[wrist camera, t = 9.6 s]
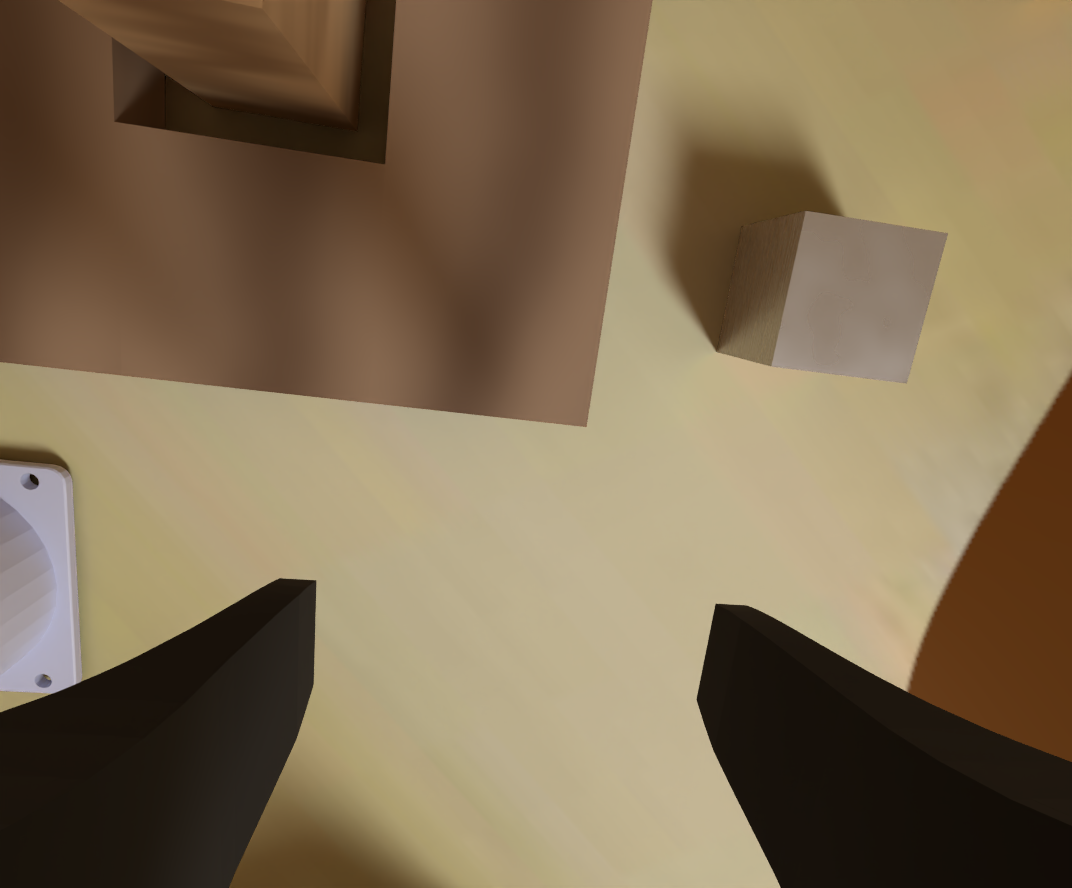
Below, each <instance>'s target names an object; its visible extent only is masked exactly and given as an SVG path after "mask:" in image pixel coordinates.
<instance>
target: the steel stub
mask: <svg viewBox="0 0 1072 888" xmlns="http://www.w3.org/2000/svg"><path fill="white" fill-rule="evenodd" d="M947 235H948V233H942V232H936V231H930V230H923V229H917V228H911V227H905V226H898V225H892V224H886V223H880V222H873V221H867V220H861V219H854V218H848V217H842V216H836V215H829V214H823V213H817V212H810V211H803V212H799V213H794V214H790V215H786V216H782V217H778V218H774V219H770V220H766V221H761V222H757V223H753V224H749V225H745V226H742V228H741V233H740V238H739V243H738V248H737V253H736V258H735V263H734V268H733V273H732V278H731V283H730V288H729V293H728V298H727V303H726V308H725V313H724V318H723V323H722V328H721V333H720V338H719V343H718V348H717V352H718V353H722V354H726V355H730V356H734V357H737V358H741V359H745V360H749V361H753V362H756V363H760V364H764V365H768V366H772V367H780V368H788V369H796V370H804V371H812V372H820V373H827V374H835V375H843V376H851V377H859V378H867V379H875V380H883V381H891V382H899V383H907V381H908V377H909V373H910V370H911V366H912V362H913V359H914V355H915V351H916V348H917V344H918V341H919V337H920V333H921V330H922V326H923V322H924V319H925V315H926V311H927V308H928V304H929V300H930V297H931V293H932V290H933V286H934V282H935V279H936V275H937V271H938V268H939V264H940V260H941V257H942V253H943V250H944V246H945V242H946V239H947Z"/></svg>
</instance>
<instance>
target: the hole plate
mask: <svg viewBox="0 0 1072 888" xmlns="http://www.w3.org/2000/svg"><path fill="white" fill-rule="evenodd" d="M651 6H652V0H396V12H395V26H394V41H393V56H392V70H391V85H390V100H389V115H388V129H387V144H386V159H385V164H379V163H373V162H366V161H360V160H354V159H347V158H341V157H335V156H328V155H322V154H316V153H309V152H303V151H297V150H290V149H284V148H278V147H271V146H265V145H259V144H252V143H246V142H239V141H233V140H227V139H220V138H214V137H208V136H201V135H195V134H189V133H182V132H176V131H170V130H165V73H163V72H162V71H161V70H159V69H158V68H156V67H155V66H153V65H152V64H150V63H149V62H147V61H146V60H145V59H143V58H142V57H140V56H139V55H137V54H136V53H134V52H133V51H131V50H130V49H129V48H127V47H126V46H124V45H123V44H121V43H120V42H118V41H117V40H115V39H114V38H113V37H111V36H110V35H108V34H107V33H105V32H104V31H102V30H101V29H99V28H98V27H96V26H95V25H94V24H92V23H91V22H89V21H88V20H86V19H85V18H83V17H82V16H80V15H79V14H78V13H76V12H75V11H73V10H72V9H70V8H69V7H67V6H66V5H64V4H63V3H62V2H60V1H59V0H0V362H6V363H15V364H24V365H33V366H42V367H51V368H60V369H69V370H78V371H87V372H96V373H105V374H114V375H123V376H132V377H141V378H150V379H159V380H168V381H177V382H186V383H195V384H204V385H213V386H222V387H231V388H240V389H249V390H258V391H267V392H276V393H285V394H294V395H303V396H312V397H321V398H330V399H339V400H348V401H357V402H366V403H375V404H384V405H393V406H403V407H412V408H421V409H430V410H439V411H448V412H457V413H466V414H475V415H484V416H493V417H502V418H511V419H520V420H529V421H538V422H547V423H556V424H565V425H574V426H583V427H586V426H587V420H588V413H589V407H590V400H591V394H592V388H593V381H594V375H595V368H596V362H597V355H598V349H599V342H600V336H601V329H602V323H603V316H604V310H605V304H606V297H607V291H608V284H609V278H610V271H611V265H612V258H613V252H614V245H615V239H616V232H617V226H618V220H619V213H620V207H621V200H622V194H623V187H624V181H625V174H626V168H627V161H628V155H629V148H630V142H631V136H632V129H633V123H634V116H635V110H636V103H637V97H638V90H639V84H640V77H641V71H642V65H643V58H644V52H645V45H646V39H647V32H648V26H649V19H650V13H651Z"/></svg>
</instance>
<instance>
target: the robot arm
mask: <svg viewBox="0 0 1072 888" xmlns="http://www.w3.org/2000/svg"><path fill="white" fill-rule="evenodd" d="M30 474H33V475H35V476H36V477H37V478H38V480H39V485H35V484H34V483H33V482H31V480H30ZM315 610H316V580H298V579H281V578H280V579H278V580H275V581H273V582H271V583H269V584H267V585H266V586H264V587H262V588H260V589H258V590H257V591H255V592H253V593H252V594H250V595H248V596H246V597H245V598H243V599H241V600H240V601H238V602H236V603H235V604H233V605H231V606H229V607H228V608H226V609H224V610H222V611H221V612H219V613H217V614H215V615H214V616H212V617H210V618H209V619H207V620H205V621H203V622H202V623H200V624H198V625H196V626H195V627H193V628H191V629H189V630H187V631H185V632H183V633H181V634H179V635H178V636H176V637H174V638H172V639H170V640H168V641H166V642H164V643H162V644H160V645H158V646H156V647H154V648H153V649H151V650H149V651H147V652H145V653H143V654H141V655H139V656H137V657H135V658H133V659H131V660H129V661H127V662H125V663H123V664H121V665H118V666H116V667H114V668H112V669H110V670H107V671H105V672H103V673H101V674H98V675H96V676H94V677H91V678H89V679H87V680H84V681H82V682H81V679H82V665H81V645H80V625H79V605H78V585H77V565H76V546H75V526H74V506H73V486H72V478H71V475H70V474H69V473H68V471H67V470H66V469H64V468H63V467H61V466H58V465H54V464H44V463H33V462H22V461H12V460H1V459H0V691H15V692H34V693H53V694H50V695H48V696H45V697H42V698H40V699H37V700H34V701H31V702H28V703H26V704H23V705H20V706H17V707H14V708H11V709H9V710H6V711H3V712H0V888H229V886H230V883H231V881H232V879H233V876H234V874H235V871H236V869H237V867H238V865H239V863H240V861H241V858H242V856H243V854H244V852H245V850H246V848H247V845H248V843H249V841H250V839H251V837H252V835H253V833H254V830H255V828H256V826H257V824H258V822H259V820H260V817H261V815H262V813H263V811H264V809H265V807H266V804H267V802H268V800H269V798H270V796H271V794H272V792H273V789H274V787H275V785H276V783H277V781H278V778H279V776H280V774H281V772H282V770H283V768H284V765H285V763H286V761H287V759H288V757H289V754H290V752H291V750H292V748H293V745H294V743H295V741H296V739H297V736H298V733H299V729H300V726H301V723H302V720H303V717H304V714H305V711H306V708H307V704H308V701H309V698H310V694H311V691H312V688H313V685H314V648H315ZM43 674H45V675H48V676H49V677H50V678H51V680H52V681H51V680H48V679H46V678H45V677H44V675H43ZM697 703H698V706H699V709H700V712H701V715H702V718H703V721H704V725H705V728H706V731H707V733H708V736H709V739H710V742H711V745H712V747H713V750H714V753H715V755H716V757H717V759H718V761H719V763H720V765H721V767H722V769H723V771H724V773H725V776H726V778H727V780H728V782H729V784H730V786H731V788H732V790H733V792H734V794H735V796H736V798H737V800H738V802H739V804H740V806H741V808H742V810H743V812H744V814H745V816H746V818H747V820H748V822H749V824H750V826H751V828H752V830H753V832H754V834H755V836H756V838H757V840H758V842H759V844H760V846H761V848H762V850H763V852H764V854H765V856H766V858H767V860H768V862H769V864H770V866H771V868H772V870H773V872H774V874H775V876H776V878H777V880H778V883H779V885H780V887H781V888H1072V762H1070V761H1067V760H1065V759H1062V758H1059V757H1057V756H1054V755H1051V754H1049V753H1046V752H1043V751H1041V750H1038V749H1036V748H1033V747H1030V746H1028V745H1025V744H1022V743H1020V742H1017V741H1014V740H1012V739H1010V738H1007V737H1005V736H1002V735H1000V734H997V733H995V732H992V731H990V730H988V729H985V728H983V727H981V726H978V725H976V724H974V723H972V722H970V721H968V720H965V719H963V718H961V717H958V716H956V715H954V714H952V713H950V712H947V711H945V710H943V709H941V708H939V707H936V706H934V705H932V704H930V703H928V702H926V701H924V700H922V699H920V698H918V697H916V696H914V695H912V694H910V693H908V692H906V691H904V690H902V689H900V688H898V687H896V686H895V685H893V684H891V683H889V682H887V681H885V680H883V679H881V678H879V677H877V676H875V675H874V674H872V673H870V672H868V671H866V670H864V669H863V668H861V667H859V666H857V665H855V664H854V663H852V662H850V661H848V660H847V659H845V658H843V657H841V656H839V655H838V654H836V653H834V652H832V651H831V650H829V649H827V648H825V647H824V646H822V645H820V644H819V643H817V642H815V641H813V640H812V639H810V638H808V637H806V636H805V635H803V634H801V633H799V632H798V631H796V630H794V629H793V628H791V627H789V626H787V625H785V624H784V623H782V622H780V621H778V620H776V619H774V618H773V617H771V616H769V615H767V614H765V613H763V612H761V611H759V610H757V609H754V608H752V607H749V606H745V605H728V604H716V605H715V610H714V615H713V620H712V625H711V630H710V635H709V640H708V645H707V650H706V655H705V660H704V665H703V670H702V675H701V680H700V685H699V690H698V695H697Z"/></svg>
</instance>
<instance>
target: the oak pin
mask: <svg viewBox="0 0 1072 888" xmlns="http://www.w3.org/2000/svg"><path fill="white" fill-rule="evenodd" d="M59 1H60V2H62V3H63V4H64V5H66V6H67V7H69V8H70V9H72V10H73V11H75V12H76V13H78V14H79V15H80V16H82V17H83V18H85V19H86V20H88V21H89V22H91V23H92V24H94V25H95V26H96V27H98V28H99V29H101V30H102V31H104V32H105V33H107V34H108V35H110V36H111V37H113V38H114V39H115V40H117V41H118V42H120V43H121V44H123V45H124V46H126V47H127V48H129V49H130V50H131V51H133V52H134V53H136V54H137V55H139V56H140V57H142V58H143V59H145V60H146V61H147V62H149V63H150V64H152V65H153V66H155V67H156V68H158V69H159V70H161V71H162V72H163V73H165V74H166V75H168V76H169V77H171V78H172V79H174V80H175V81H177V82H178V83H179V84H181V85H182V86H184V87H185V88H187V89H188V90H190V91H191V92H193V93H194V94H195V95H197V96H198V97H200V98H201V99H203V100H204V101H206V102H207V103H209V104H210V105H211V106H214V107H220V108H225V109H231V110H237V111H242V112H248V113H254V114H260V115H265V116H271V117H277V118H282V119H288V120H294V121H300V122H305V123H311V124H317V125H322V126H328V127H334V128H340V129H345V130H351V131H357V130H358V116H359V101H360V86H361V72H362V57H363V42H364V28H365V13H366V0H59Z"/></svg>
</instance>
